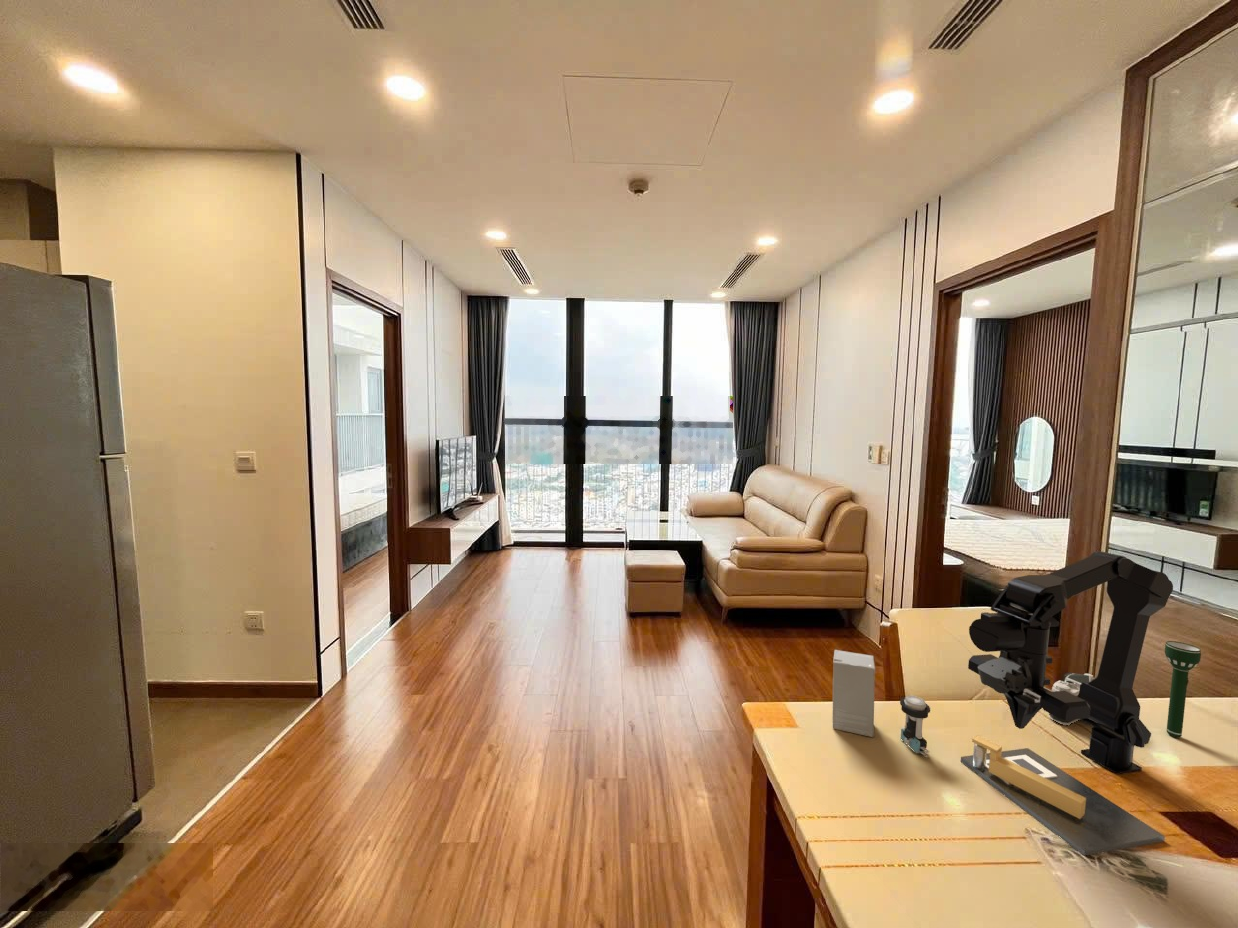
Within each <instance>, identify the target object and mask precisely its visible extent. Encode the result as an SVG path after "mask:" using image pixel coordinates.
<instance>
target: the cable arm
mask: <svg viewBox="0 0 1238 928" xmlns="http://www.w3.org/2000/svg"><path fill="white" fill-rule="evenodd" d="M971 742H972V743H973V744H974V743H976V744H978V745H980V746H982V747H984V748H986V749H987V751H989V753H990V760H989V772H990V773H992V774H994V775H996V776H998V777H1000V778H1002V779H1003V780H1005V781H1007V782H1009V783H1011V784H1013V785H1015V786H1017V787H1019V788H1021V789H1023V790H1025V791H1027V792H1029V793H1030V794H1032V795H1034V796H1036V797H1038V798H1040V799H1042V800H1044V801H1046V802H1048V803H1050V804H1052V805H1054V806H1056V807H1057V808H1059V809H1061V810H1063V811H1065V812H1067V813H1069V814H1071V815H1073V816H1075V817H1077V818H1079V819H1081V817H1082V816H1083V815H1084V814H1085V805H1086V798H1085V797H1083V796H1081V795H1079V794H1077V793H1075V792H1073V791H1071V790H1069V789H1067V788H1065V787H1062V786H1060V785H1058V784H1056V783H1054V782H1052V781H1050V780H1048V779H1046V778H1044V777H1042V776H1040V775H1038V774H1036V773H1034V772H1032V771H1030V770H1028V769H1025V768H1023V767H1021V766H1019V765H1017V764H1015V763H1013V762H1011V761H1009V760H1007V759H1005V758H1003V757H1001V754H1002V751H1003V746H1001V745H1000V744H998V743H996V742H993V741H991V740H989V739H987V738H985V737H983V736H980V735H976V736H974V737H972V738H971Z"/></svg>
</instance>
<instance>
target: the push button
mask: <svg viewBox="0 0 1238 928" xmlns="http://www.w3.org/2000/svg"><path fill="white" fill-rule="evenodd" d="M899 704H900V706H901V708H900V709H901V711H902V712H903V713H904V714H905V724H904V728H901V729H900V740H901V739H902V740H903V741H904V743H903V745H904V744H905V745H906V743H907V745H906V746H907V747H908V745H909V746H910V747H911V748H912V749H913V750H914V751H915V752H916V753H919V754H922V755H923V757H925V758H928V757H930V756H929V754H927V753H930V751H929V750H928V749H927V746H928V744H927V743H928V742H927V740H926V739H925V737H923V724H924V723H923V722H924V721H923V720H924V719H926V718H929V713H931V707H930V705H928V704H927V703H926V701H925V699H922V698H921V697H918V696H916V695H906V696H905V697H903V698H901V699H899ZM905 745H904V746H905ZM906 746H905V747H906ZM907 747H906V748H907ZM908 748H909V747H908ZM912 749H911V750H912ZM913 750H912V751H913ZM914 751H913V752H914ZM915 752H914V753H915ZM916 753H915V754H916Z"/></svg>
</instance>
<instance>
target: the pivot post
mask: <svg viewBox="0 0 1238 928" xmlns="http://www.w3.org/2000/svg"><path fill="white" fill-rule="evenodd" d="M987 753H988V749H986V748H984V747H982V746H980V745H978V744H976V743H974V742H973V753H972V755H973V766H974V767H975V768H977V769H979V770H985V768H986V754H987Z"/></svg>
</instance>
